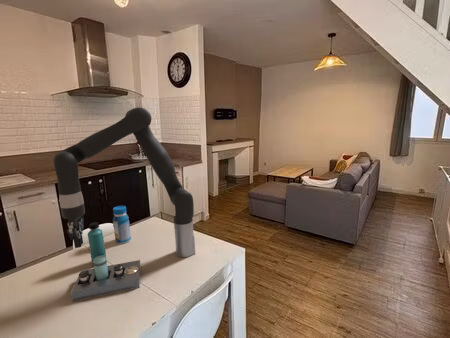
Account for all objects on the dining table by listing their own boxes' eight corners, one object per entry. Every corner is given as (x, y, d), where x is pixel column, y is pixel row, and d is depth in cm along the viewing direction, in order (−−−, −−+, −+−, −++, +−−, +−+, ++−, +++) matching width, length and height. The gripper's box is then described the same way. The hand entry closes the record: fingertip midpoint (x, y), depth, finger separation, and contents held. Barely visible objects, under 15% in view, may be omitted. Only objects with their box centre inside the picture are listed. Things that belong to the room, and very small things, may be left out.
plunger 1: (91, 280, 99) (89, 269, 98) (89, 285, 96) (87, 275, 95) (81, 282, 98) (79, 271, 97) (79, 287, 95) (77, 276, 94)
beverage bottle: (100, 266, 112) (94, 226, 108) (88, 265, 113) (82, 226, 109) (109, 258, 118) (104, 221, 114) (98, 257, 120) (92, 220, 116)
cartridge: (110, 279, 102) (107, 254, 100) (108, 286, 98) (105, 260, 96) (98, 282, 101) (94, 256, 99) (96, 289, 97) (91, 262, 94)
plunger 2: (124, 273, 103) (123, 263, 102) (123, 278, 100) (122, 268, 99) (115, 275, 102) (114, 265, 101) (114, 280, 99) (113, 270, 98)
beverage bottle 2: (127, 244, 132) (123, 210, 128) (112, 244, 132) (108, 210, 128) (133, 237, 140) (130, 204, 136) (119, 237, 140) (115, 205, 137)
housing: (140, 267, 110) (139, 259, 109) (139, 287, 97) (138, 278, 96) (82, 279, 103) (80, 270, 102) (72, 301, 90) (70, 291, 89)
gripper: (78, 208, 85) (85, 252, 88) (87, 197, 98) (93, 236, 101) (54, 211, 83) (62, 256, 86) (66, 199, 96) (73, 239, 99)
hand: (79, 245), depth 94 cm, fingers closed
